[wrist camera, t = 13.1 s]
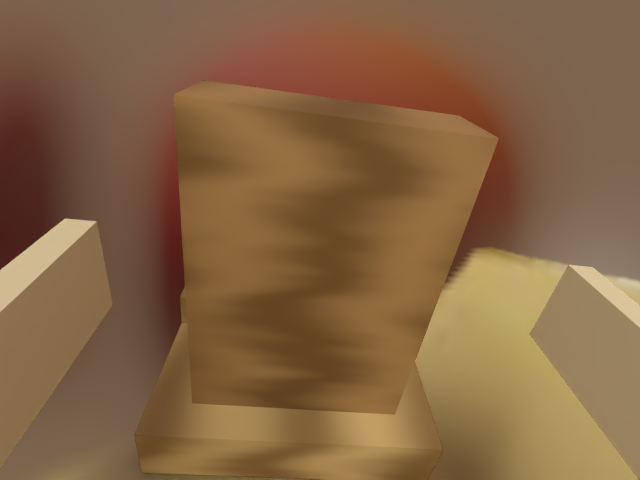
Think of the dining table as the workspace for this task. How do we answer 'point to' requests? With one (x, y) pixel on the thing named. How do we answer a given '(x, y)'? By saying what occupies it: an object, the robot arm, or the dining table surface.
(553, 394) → the dining table surface
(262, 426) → the ledge
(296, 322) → the wooden block
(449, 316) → the dining table surface
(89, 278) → the robot arm
